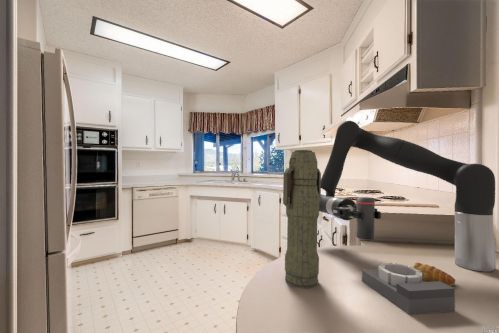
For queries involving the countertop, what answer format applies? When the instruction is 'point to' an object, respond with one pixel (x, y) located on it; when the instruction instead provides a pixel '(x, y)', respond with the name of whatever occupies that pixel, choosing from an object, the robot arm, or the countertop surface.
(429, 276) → the pastry
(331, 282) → the countertop surface
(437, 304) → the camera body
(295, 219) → the thermos
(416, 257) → the countertop surface
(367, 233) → the lens
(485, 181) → the robot arm
